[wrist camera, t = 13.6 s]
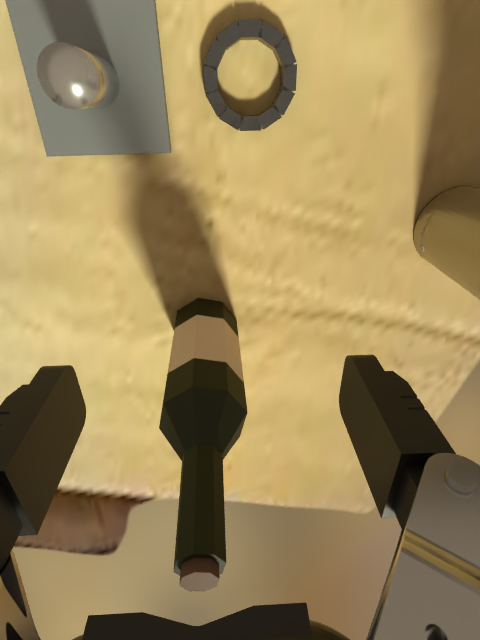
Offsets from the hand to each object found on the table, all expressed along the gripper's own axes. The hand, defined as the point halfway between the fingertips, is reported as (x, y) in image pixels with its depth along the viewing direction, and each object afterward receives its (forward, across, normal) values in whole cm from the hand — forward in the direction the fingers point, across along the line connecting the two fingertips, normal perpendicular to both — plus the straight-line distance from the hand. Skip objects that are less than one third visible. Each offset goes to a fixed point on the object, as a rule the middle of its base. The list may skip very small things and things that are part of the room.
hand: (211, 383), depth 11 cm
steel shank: (+31, +11, -9) cm, 34 cm away
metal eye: (+33, -3, -9) cm, 34 cm away
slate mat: (+32, +11, -9) cm, 35 cm away
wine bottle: (+33, +2, +18) cm, 38 cm away
